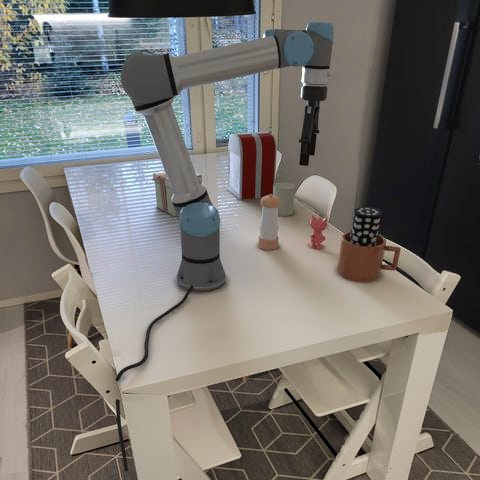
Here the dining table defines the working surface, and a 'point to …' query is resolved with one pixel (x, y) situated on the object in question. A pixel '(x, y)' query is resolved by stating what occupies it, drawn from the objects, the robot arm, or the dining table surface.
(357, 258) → the terracotta coffee mug
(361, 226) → the white-spotted black cylinder
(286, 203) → the can
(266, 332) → the dining table surface
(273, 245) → the pepper shaker
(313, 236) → the cat figurine
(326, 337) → the dining table surface
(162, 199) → the gift box
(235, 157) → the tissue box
